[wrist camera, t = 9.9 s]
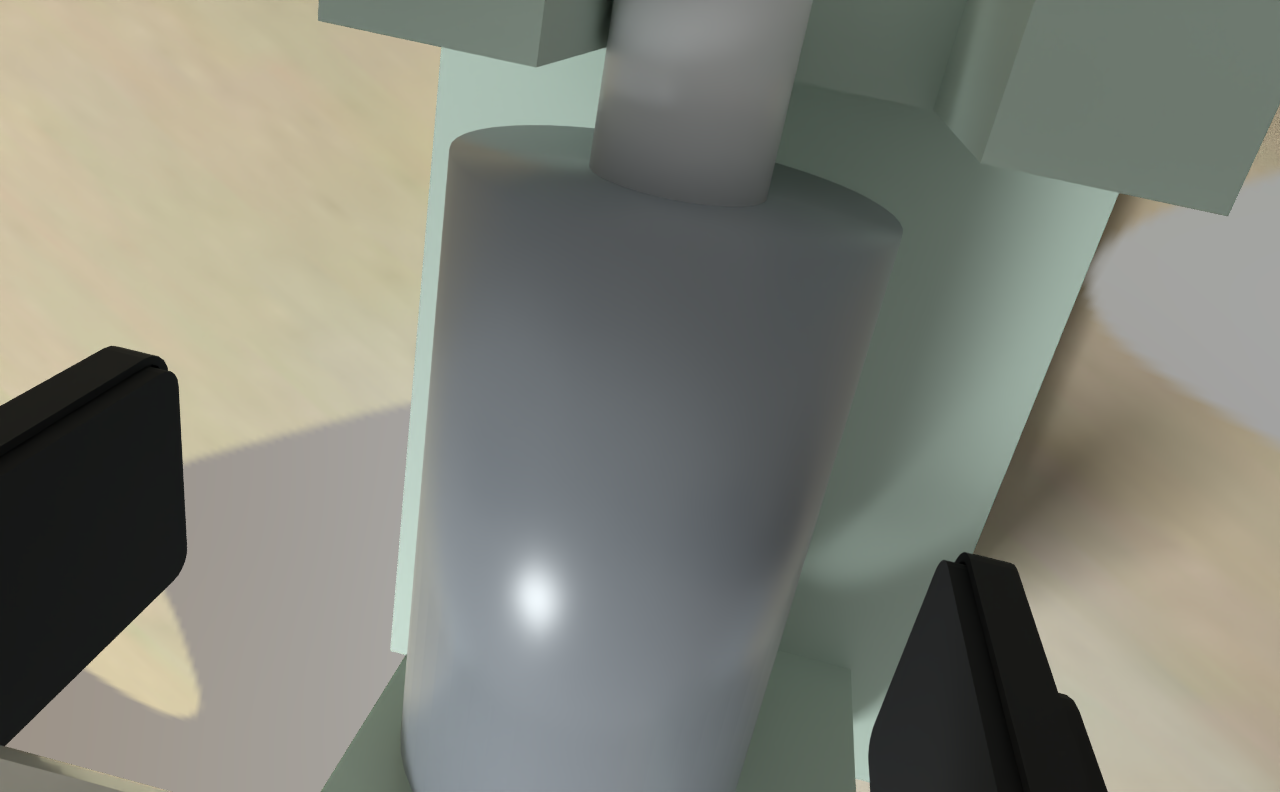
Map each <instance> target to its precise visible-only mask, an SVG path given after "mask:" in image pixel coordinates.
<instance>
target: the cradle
mask: <svg viewBox="0 0 1280 792" xmlns="http://www.w3.org/2000/svg"><path fill="white" fill-rule="evenodd" d="M612 7H613V0H319V9H318V21H322V22H327V23H331V24H336V25H341V26H345V27H350V28H355V29H359V30H364V31H369V32H373V33H378V34H383V35H387V36H392V37H396V38H401V39H406V40H410V41H415V42H420V43H424V44H429V45H434V46H438V47H441V58H440V70H439V82H438V93H437V105H436V117H435V129H434V141H433V152H432V164H431V176H430V188H429V200H428V211H427V223H426V235H425V247H424V259H423V270H422V282H421V294H420V306H419V318H418V329H417V341H416V353H415V365H414V377H413V388H412V400H411V412H410V424H409V435H408V447H407V459H406V471H405V483H404V494H403V506H402V518H401V530H400V542H399V554H398V565H397V577H396V589H395V601H394V612H393V624H392V636H391V649H390V651H393V652H397V653H400V654H404V655H406V656H405V657H404V659H403V660H402V662H401V664H400V665H399V667H398V669H397V670H396V672H395V673H394V675H393V676H392V678H391V680H390V681H389V683H388V685H387V686H386V688H385V689H384V691H383V693H382V694H381V696H380V698H379V699H378V701H377V702H376V704H375V705H374V707H373V709H372V710H371V712H370V713H369V715H368V717H367V718H366V720H365V722H364V723H363V725H362V726H361V728H360V729H359V731H358V733H357V734H356V736H355V738H354V739H353V741H352V742H351V744H350V746H349V747H348V749H347V750H346V752H345V754H344V755H343V757H342V758H341V760H340V762H339V763H338V765H337V767H336V768H335V770H334V771H333V773H332V774H331V776H330V778H329V779H328V781H327V783H326V784H325V786H324V788H323V789H322V791H321V792H413V791H412V789H411V787H410V784H409V781H408V779H407V776H406V774H405V771H404V766H403V761H402V756H401V739H400V733H401V721H402V709H403V697H404V685H405V673H406V661H407V649H408V637H409V625H410V613H411V601H412V589H413V577H414V565H415V553H416V541H417V529H418V517H419V505H420V493H421V481H422V469H423V457H424V445H425V433H426V421H427V409H428V397H429V385H430V373H431V361H432V349H433V337H434V325H435V313H436V301H437V289H438V277H439V265H440V253H441V241H442V229H443V217H444V205H445V193H446V181H447V169H448V157H449V148H450V145H451V143H452V142H453V141H454V140H455V139H456V138H457V137H459V136H461V135H463V134H465V133H468V132H472V131H475V130H479V129H485V128H491V127H500V126H514V125H555V126H574V127H587V128H595V122H596V115H597V108H598V102H599V95H600V88H601V81H602V75H603V68H604V61H605V54H606V47H607V41H608V34H609V27H610V20H611V14H612ZM1279 104H1280V0H813V2H812V6H811V11H810V15H809V19H808V24H807V28H806V32H805V37H804V41H803V45H802V49H801V54H800V58H799V62H798V67H797V71H796V75H795V80H794V84H793V88H792V92H791V97H790V101H789V105H788V110H787V114H786V118H785V123H784V127H783V131H782V135H781V140H780V144H779V148H778V153H777V157H776V161H775V163H778V164H782V165H785V166H788V167H791V168H794V169H798V170H801V171H804V172H807V173H810V174H812V175H815V176H818V177H821V178H824V179H826V180H829V181H831V182H834V183H836V184H839V185H841V186H844V187H846V188H848V189H850V190H853V191H855V192H857V193H859V194H861V195H863V196H865V197H867V198H869V199H871V200H872V201H874V202H876V203H877V204H879V205H881V206H882V207H884V208H885V209H886V210H888V211H889V212H890V213H892V214H893V215H894V216H895V217H896V218H897V220H898V221H899V222H900V224H901V226H902V228H903V234H902V239H901V242H900V245H899V249H898V252H897V255H896V259H895V262H894V265H893V269H892V272H891V275H890V279H889V282H888V285H887V289H886V292H885V295H884V299H883V302H882V305H881V309H880V312H879V315H878V319H877V322H876V325H875V329H874V332H873V335H872V339H871V342H870V345H869V349H868V352H867V355H866V359H865V362H864V365H863V369H862V372H861V375H860V379H859V382H858V385H857V389H856V392H855V395H854V398H853V402H852V405H851V408H850V412H849V415H848V418H847V422H846V425H845V428H844V432H843V435H842V438H841V442H840V445H839V448H838V452H837V455H836V458H835V462H834V465H833V468H832V472H831V475H830V478H829V482H828V485H827V488H826V492H825V495H824V498H823V502H822V505H821V508H820V512H819V515H818V518H817V522H816V525H815V528H814V532H813V535H812V538H811V542H810V545H809V548H808V552H807V555H806V558H805V562H804V565H803V568H802V572H801V575H800V578H799V581H798V585H797V588H796V591H795V595H794V598H793V601H792V605H791V608H790V611H789V615H788V618H787V621H786V625H785V628H784V631H783V635H782V638H781V641H780V645H779V648H778V651H777V655H776V658H775V661H774V665H773V668H772V671H771V675H770V678H769V681H768V685H767V688H766V691H765V695H764V698H763V701H762V705H761V708H760V711H759V715H758V718H757V721H756V725H755V728H754V731H753V735H752V738H751V741H750V745H749V748H748V751H747V754H746V758H745V761H744V764H743V768H742V771H741V774H740V778H739V781H738V784H737V788H736V791H735V792H856V784H855V779H859V780H863V781H866V782H870V779H869V765H868V751H869V742H870V737H871V733H872V729H873V726H874V723H875V721H876V718H877V716H878V713H879V711H880V708H881V706H882V703H883V701H884V698H885V696H886V693H887V691H888V688H889V686H890V683H891V681H892V678H893V676H894V673H895V671H896V668H897V666H898V663H899V661H900V658H901V656H902V653H903V651H904V648H905V646H906V643H907V641H908V638H909V636H910V633H911V630H912V628H913V625H914V623H915V620H916V618H917V615H918V613H919V610H920V608H921V605H922V603H923V600H924V598H925V595H926V593H927V590H928V588H929V585H930V583H931V580H932V578H933V575H934V573H935V570H936V568H937V566H938V564H939V563H940V562H941V561H942V560H947V561H951V562H955V561H956V559H957V558H958V556H959V555H960V554H961V553H963V552H967V553H971V554H973V552H974V549H975V547H976V545H977V542H978V540H979V537H980V535H981V532H982V530H983V527H984V525H985V522H986V520H987V517H988V515H989V512H990V510H991V508H992V505H993V503H994V500H995V498H996V495H997V493H998V490H999V488H1000V485H1001V483H1002V480H1003V478H1004V475H1005V473H1006V470H1007V468H1008V466H1009V463H1010V461H1011V458H1012V456H1013V453H1014V451H1015V448H1016V446H1017V443H1018V441H1019V438H1020V436H1021V433H1022V431H1023V429H1024V426H1025V424H1026V421H1027V419H1028V416H1029V414H1030V411H1031V409H1032V406H1033V404H1034V401H1035V399H1036V396H1037V394H1038V391H1039V389H1040V387H1041V384H1042V382H1043V379H1044V377H1045V374H1046V372H1047V369H1048V367H1049V364H1050V362H1051V359H1052V357H1053V354H1054V352H1055V350H1056V347H1057V345H1058V342H1059V340H1060V337H1061V335H1062V332H1063V330H1064V327H1065V325H1066V322H1067V320H1068V317H1069V315H1070V312H1071V310H1072V308H1073V305H1074V303H1075V300H1076V298H1077V295H1078V293H1079V290H1080V288H1081V285H1082V283H1083V280H1084V278H1085V275H1086V273H1087V271H1088V268H1089V266H1090V263H1091V261H1092V258H1093V256H1094V253H1095V251H1096V248H1097V246H1098V243H1099V241H1100V238H1101V236H1102V233H1103V231H1104V229H1105V226H1106V224H1107V221H1108V219H1109V216H1110V214H1111V211H1112V209H1113V206H1114V204H1115V201H1116V199H1117V196H1118V194H1119V193H1122V194H1126V195H1131V196H1136V197H1140V198H1145V199H1150V200H1154V201H1159V202H1164V203H1168V204H1173V205H1177V206H1182V207H1187V208H1191V209H1196V210H1201V211H1205V212H1210V213H1215V214H1219V215H1224V216H1228V215H1229V213H1230V211H1231V209H1232V206H1233V204H1234V202H1235V200H1236V198H1237V196H1238V193H1239V191H1240V189H1241V187H1242V185H1243V183H1244V180H1245V178H1246V176H1247V174H1248V172H1249V170H1250V167H1251V165H1252V163H1253V161H1254V159H1255V157H1256V154H1257V152H1258V150H1259V148H1260V146H1261V144H1262V141H1263V139H1264V137H1265V135H1266V133H1267V130H1268V128H1269V126H1270V124H1271V122H1272V120H1273V117H1274V115H1275V113H1276V111H1277V109H1278V107H1279Z"/></svg>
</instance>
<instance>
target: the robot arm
mask: <svg viewBox="0 0 1280 792" xmlns="http://www.w3.org/2000/svg"><path fill="white" fill-rule="evenodd" d="M186 554H187V539H186V519H185V500H184V482H183V462H182V442H181V423H180V404H179V386H178V380H177V378H176V376H175V374H174V373H172V372H171V371H168V367H167V365H166V363H165V362H164V360H163V359H161V358H160V357H159V356H154V355H150V354H146V353H142V352H138V351H134V350H130V349H126V348H121V347H116V346H110V347H107V348H104V349H102V350H100V351H98V352H97V353H95V354H93V355H91V356H89V357H88V358H86V359H84V360H82V361H80V362H79V363H77V364H75V365H73V366H71V367H70V368H68V369H66V370H64V371H62V372H61V373H59V374H57V375H55V376H53V377H52V378H50V379H48V380H46V381H44V382H43V383H41V384H39V385H37V386H35V387H34V388H32V389H30V390H28V391H26V392H25V393H23V394H21V395H19V396H17V397H16V398H14V399H12V400H10V401H8V402H7V403H5V404H3V405H1V406H0V792H171V791H167V790H164V789H160V788H157V787H153V786H149V785H145V784H142V783H138V782H135V781H131V780H127V779H123V778H120V777H115V776H112V775H109V774H105V773H101V772H98V771H94V770H90V769H87V768H82V767H79V766H75V765H72V764H68V763H64V762H61V761H57V760H53V759H49V758H46V757H42V756H38V755H35V754H31V753H28V752H24V751H20V750H16V749H12V748H9V747H5V745H6V744H7V743H8V742H10V741H11V740H12V738H13V737H15V736H16V735H17V734H18V733H19V732H20V731H21V730H22V729H23V728H24V727H25V726H26V725H27V724H28V723H29V722H30V721H31V720H32V719H33V718H34V717H35V716H36V715H37V714H38V713H39V712H40V711H41V710H42V709H43V708H44V707H45V706H46V705H47V704H48V703H49V702H50V701H51V700H52V699H53V698H54V697H55V696H56V695H57V694H58V693H60V692H61V691H62V689H64V687H66V686H67V685H68V684H69V683H70V682H71V681H72V680H73V679H74V678H75V677H76V676H77V675H78V674H79V673H80V672H81V671H82V670H83V669H84V668H85V667H86V666H87V665H88V664H89V663H90V662H91V661H92V660H93V659H94V658H95V657H96V656H97V655H98V654H99V653H100V652H101V651H102V650H103V649H104V648H105V647H106V646H107V645H108V644H110V643H111V642H112V641H113V640H114V639H115V638H116V637H117V636H118V635H119V634H120V633H121V632H122V631H123V630H124V629H125V628H126V627H127V626H128V625H129V624H130V623H131V622H132V621H133V620H134V619H135V618H136V617H137V616H138V615H139V614H140V613H141V612H142V611H143V610H144V609H145V608H146V607H147V606H148V605H149V604H150V603H151V602H152V601H153V600H154V599H155V598H156V597H157V596H158V595H159V594H160V593H162V592H163V591H164V590H165V589H166V588H167V587H168V586H169V585H170V584H171V583H172V582H173V581H174V580H175V578H176V577H177V576H178V575H179V573H180V571H181V569H182V567H183V565H184V562H185V559H186ZM868 765H869V779H870V792H1108V791H1107V788H1106V786H1105V783H1104V780H1103V777H1102V774H1101V771H1100V769H1099V766H1098V763H1097V760H1096V757H1095V754H1094V752H1093V749H1092V746H1091V743H1090V740H1089V737H1088V735H1087V732H1086V729H1085V726H1084V723H1083V720H1082V717H1081V715H1080V712H1079V710H1078V708H1077V706H1076V704H1075V702H1074V700H1072V699H1071V698H1070V697H1068V696H1067V695H1065V694H1061V693H1058V691H1057V688H1056V685H1055V682H1054V679H1053V676H1052V673H1051V670H1050V667H1049V664H1048V661H1047V658H1046V655H1045V652H1044V649H1043V646H1042V643H1041V640H1040V637H1039V634H1038V631H1037V628H1036V625H1035V621H1034V618H1033V615H1032V612H1031V609H1030V606H1029V603H1028V600H1027V597H1026V594H1025V591H1024V588H1023V585H1022V582H1021V579H1020V576H1019V573H1018V570H1017V568H1016V567H1015V565H1014V564H1012V563H1008V562H1004V561H1000V560H996V559H992V558H988V557H984V556H979V555H975V554H971V553H967V552H963V553H961V554H960V555H959V556H958V558H957V559H956V561H955V562H951V561H947V560H942V561H941V562H940V563H939V564H938V566H937V568H936V570H935V573H934V575H933V578H932V580H931V583H930V585H929V588H928V590H927V593H926V595H925V598H924V600H923V603H922V605H921V608H920V610H919V613H918V615H917V618H916V620H915V623H914V625H913V628H912V630H911V633H910V636H909V638H908V641H907V643H906V646H905V648H904V651H903V653H902V656H901V658H900V661H899V663H898V666H897V668H896V671H895V673H894V676H893V678H892V681H891V683H890V686H889V688H888V691H887V693H886V696H885V698H884V701H883V703H882V706H881V708H880V711H879V713H878V716H877V718H876V721H875V723H874V726H873V729H872V733H871V737H870V742H869V751H868Z"/></svg>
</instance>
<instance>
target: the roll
mask: <svg viewBox="0 0 1280 792" xmlns="http://www.w3.org/2000/svg"><path fill="white" fill-rule="evenodd" d="M812 2H813V0H613V7H612V14H611V20H610V27H609V34H608V41H607V47H606V54H605V61H604V68H603V75H602V81H601V88H600V95H599V102H598V108H597V115H596V122H595V128H587V127H574V126H555V125H514V126H500V127H491V128H485V129H479V130H475V131H472V132H468V133H465V134H463V135H461V136H459V137H457V138H456V139H455V140H454V141H453V142H452V143H451V145H450V148H449V157H448V169H447V181H446V193H445V205H444V217H443V229H442V241H441V253H440V265H439V277H438V289H437V301H436V313H435V325H434V337H433V349H432V361H431V373H430V385H429V397H428V409H427V421H426V433H425V445H424V457H423V469H422V481H421V493H420V505H419V517H418V529H417V541H416V553H415V565H414V577H413V589H412V601H411V613H410V625H409V637H408V649H407V661H406V673H405V685H404V697H403V709H402V721H401V733H400V739H401V756H402V761H403V766H404V771H405V774H406V776H407V779H408V781H409V784H410V787H411V789H412V791H413V792H735V791H736V788H737V784H738V781H739V778H740V774H741V771H742V768H743V764H744V761H745V758H746V754H747V751H748V748H749V745H750V741H751V738H752V735H753V731H754V728H755V725H756V721H757V718H758V715H759V711H760V708H761V705H762V701H763V698H764V695H765V691H766V688H767V685H768V681H769V678H770V675H771V671H772V668H773V665H774V661H775V658H776V655H777V651H778V648H779V645H780V641H781V638H782V635H783V631H784V628H785V625H786V621H787V618H788V615H789V611H790V608H791V605H792V601H793V598H794V595H795V591H796V588H797V585H798V581H799V578H800V575H801V572H802V568H803V565H804V562H805V558H806V555H807V552H808V548H809V545H810V542H811V538H812V535H813V532H814V528H815V525H816V522H817V518H818V515H819V512H820V508H821V505H822V502H823V498H824V495H825V492H826V488H827V485H828V482H829V478H830V475H831V472H832V468H833V465H834V462H835V458H836V455H837V452H838V448H839V445H840V442H841V438H842V435H843V432H844V428H845V425H846V422H847V418H848V415H849V412H850V408H851V405H852V402H853V398H854V395H855V392H856V389H857V385H858V382H859V379H860V375H861V372H862V369H863V365H864V362H865V359H866V355H867V352H868V349H869V345H870V342H871V339H872V335H873V332H874V329H875V325H876V322H877V319H878V315H879V312H880V309H881V305H882V302H883V299H884V295H885V292H886V289H887V285H888V282H889V279H890V275H891V272H892V269H893V265H894V262H895V259H896V255H897V252H898V249H899V245H900V242H901V239H902V234H903V228H902V226H901V224H900V222H899V221H898V220H897V218H896V217H895V216H894V215H893V214H892V213H890V212H889V211H888V210H886V209H885V208H884V207H882V206H881V205H879V204H877V203H876V202H874V201H872V200H871V199H869V198H867V197H865V196H863V195H861V194H859V193H857V192H855V191H853V190H850V189H848V188H846V187H844V186H841V185H839V184H836V183H834V182H831V181H829V180H826V179H824V178H821V177H818V176H815V175H812V174H810V173H807V172H804V171H801V170H798V169H794V168H791V167H788V166H785V165H782V164H778V163H775V161H776V157H777V153H778V148H779V144H780V140H781V135H782V131H783V127H784V123H785V118H786V114H787V110H788V105H789V101H790V97H791V92H792V88H793V84H794V80H795V75H796V71H797V67H798V62H799V58H800V54H801V49H802V45H803V41H804V37H805V32H806V28H807V24H808V19H809V15H810V11H811V6H812Z"/></svg>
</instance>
